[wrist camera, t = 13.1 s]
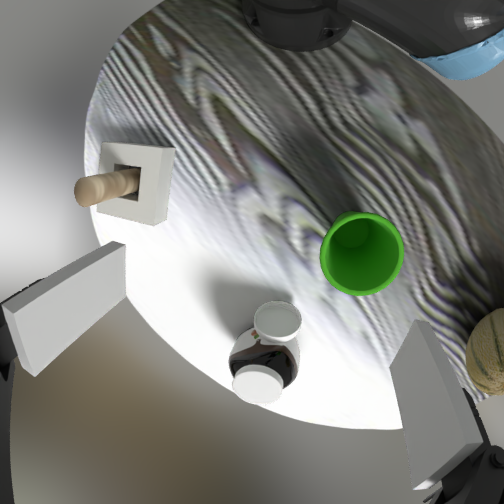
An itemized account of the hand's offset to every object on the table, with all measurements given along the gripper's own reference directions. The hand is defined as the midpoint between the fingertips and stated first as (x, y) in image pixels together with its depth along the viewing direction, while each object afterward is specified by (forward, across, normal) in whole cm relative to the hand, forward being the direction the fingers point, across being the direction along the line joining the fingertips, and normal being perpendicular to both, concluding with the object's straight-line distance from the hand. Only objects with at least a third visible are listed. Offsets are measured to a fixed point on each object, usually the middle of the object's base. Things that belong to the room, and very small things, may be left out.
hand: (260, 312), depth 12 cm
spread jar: (+29, +1, -21) cm, 36 cm away
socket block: (+29, -24, -2) cm, 37 cm away
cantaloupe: (+29, +40, -12) cm, 51 cm away
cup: (+29, +8, -2) cm, 30 cm away
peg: (+29, -24, -2) cm, 38 cm away
